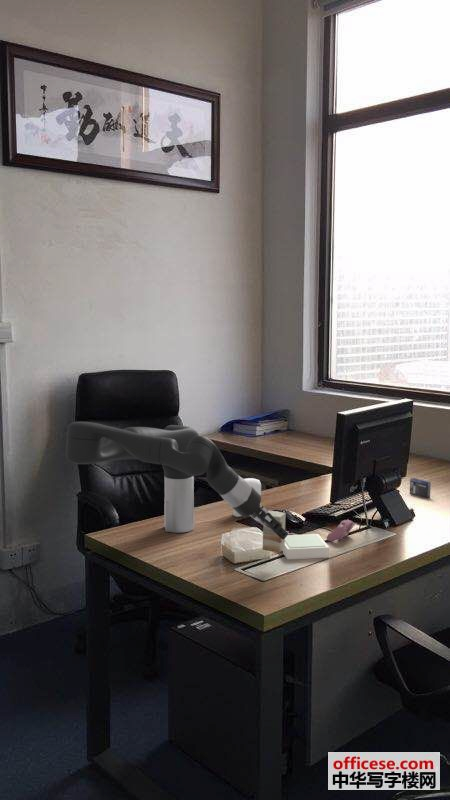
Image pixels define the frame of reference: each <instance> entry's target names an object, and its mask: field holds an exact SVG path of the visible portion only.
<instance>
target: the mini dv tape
mask: <svg viewBox="0 0 450 800" xmlns="http://www.w3.org/2000/svg"><path fill="white" fill-rule="evenodd" d="M431 484H432V482H431V481H428V480H424V479H421V478H420V479H419V478H416V477H410V480H409V494H410V495H414V496H418V497H422V498H424V499H429V498H431Z"/></svg>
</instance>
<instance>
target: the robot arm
mask: <svg viewBox="0 0 450 800" xmlns="http://www.w3.org/2000/svg"><path fill="white" fill-rule="evenodd" d="M66 431H67V433H66V445H65V458H66V460H67V461H68V462H70V463H72V464H75V465H90V464H98V463H102V462H103V463H104V462H109V461H117V460H118V461H119V460H139V461H141V462H144V463H146V464H147V463H149V464H155V465H160V466H161V465H162V469H163V472H164V473H163V474H164V475H163V476H164V498H163V499H164V504H163V507H164V512H163V513H164V519H163V520H164V530H165V532H167V533H179V534H181V533H188V532H191V531H193V530H194V529H195V505H194V504H195V502H194V501H195V496H194V495H195V492H194V489H195V486H194V484H195V481H194V480H195V477H194V476H196V477H197V476H201V475H204V474H205V473H206V481H207V482H206V483H208V485H209V486H210V487H211V488H212V489H213V490H215V492H216V493H217V494H219V496H220V497H221V498H222V499H223V500H224V501H225V502H226V503H227V504H228V506H230V507H231V508H232V510H233V509H234V510H235V511H236V512H238V513H239V514H240V515H241V516H240V517H244V518H245V517H248V516H250V517H251V519H253V520H255V521H256V522H257V523H259V524H261V525H262V526H263V525H264V526H265V527H269V528H270V529H271V530H272V531H273V532H275V533H276V534H277V535H278V536H279V537H280V538H281V539H283V540H284V539H285V538H286V537H287V535H289V533H288V531H286V529H285V530H284V529H283V528H282V525H281V524H280V523H279V522H278V521H277V520H276V519H275V518H274V517H273V516H272V515H271V514H270V513H269V512H268V511H269V510H268V509H267V508H266V507H265V506H263V505H262V494H261V495H260V494H259V493H258V492H257V491H256V490H255V489H254V488H253V487H251V486H250V485H249V484H248V483H247V482H246V481H245V480H244V479H245V478H243V477H241V476H240V475H239V474H238V473H237V472H235V470H233V468H232V467H230V466H229V465H228V463H227V461H226V459H225V458H224V456H223V454H222V453H221V451H220V449H219V448H218V447H217V445H216V444H215V443H214V442H213V441H212V440H211V439H210V438H208V437H207V436H203V435H199V432H198V431H197V430H196V429H194V428H192V427H190V426H185V425H176V424H170V425H167V426H166V427H164V429H161V428H156V427H149V426H148V427H147V426H129V427H125V428H123V429H122V428H118V427H115V426H111V425H110V426H109V425H106V424H101V423H97V422H91V421H74V422H70V423H69V424H68V426H67V430H66ZM103 438H106V439H109V441H107V442H106V443H105V444H104V445H102V444H103ZM260 503H261V505H260ZM264 522H265V523H266V524H265V523H264ZM273 526H274V527H273Z"/></svg>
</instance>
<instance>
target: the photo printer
mask: <svg viewBox="0 0 450 800" xmlns="http://www.w3.org/2000/svg"><path fill="white" fill-rule="evenodd" d="M243 479H244V480H245V481H246V482H247V483H248V484H249V485H250V486H251V487H253V488H254V489H255V490H256V491H257V492H258V493H259V494H260V495H261V496H262V483H261V481H260V479H256V478H253V477H251V478H250V477H248V478H247V477H246V478H243ZM260 505H261V506H262V502H261V503H260ZM232 514H233V516H234V517H236V518H237V517H242V516H241V515H240V514H239V513H238V512H236V511H235V510H234V509H233V508H232Z"/></svg>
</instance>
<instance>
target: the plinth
mask: <svg viewBox="0 0 450 800" xmlns="http://www.w3.org/2000/svg"><path fill="white" fill-rule="evenodd" d="M282 551H283V552H282ZM282 551H281V552H282V553H283V555H284V556H285V558H286V559H287V560H302V559H303V560H305V559H306V560H307V559H323V558H324V559H325V558H330V546H329V545H328V544H327V542H325V540H324V539H323V538H322V537H321V535H319V533H312V534H311V533H310V534H309V533H308V534H288V535H287V537H286V538H285V548H284V549H283V550H282Z"/></svg>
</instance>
